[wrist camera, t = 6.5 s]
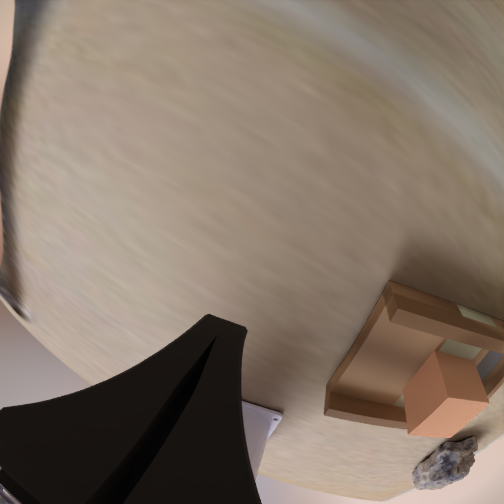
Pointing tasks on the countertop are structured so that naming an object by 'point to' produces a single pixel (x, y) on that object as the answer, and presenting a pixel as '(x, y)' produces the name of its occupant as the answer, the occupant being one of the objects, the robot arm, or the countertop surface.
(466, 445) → the mineral specimen
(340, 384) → the channel
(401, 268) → the countertop surface
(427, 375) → the block
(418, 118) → the countertop surface
